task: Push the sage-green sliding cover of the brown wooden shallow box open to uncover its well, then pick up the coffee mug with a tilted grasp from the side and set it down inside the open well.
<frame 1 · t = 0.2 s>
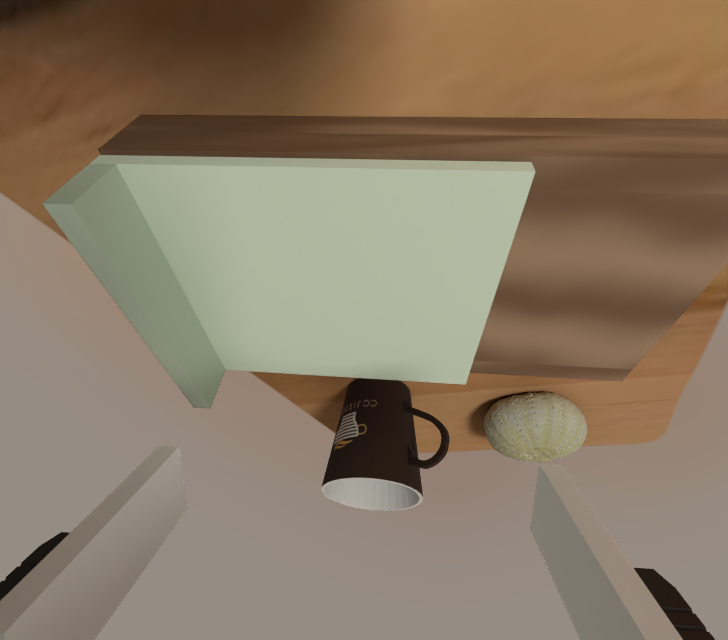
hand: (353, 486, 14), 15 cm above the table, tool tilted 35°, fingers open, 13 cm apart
sea urchin shell: (529, 406, 39), on the table
brown wooden shallow box: (417, 248, 25), on the table
coffee mug: (393, 389, 38), on the table
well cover: (319, 316, 21), point 6 cm above the table, slide at 0.0 cm
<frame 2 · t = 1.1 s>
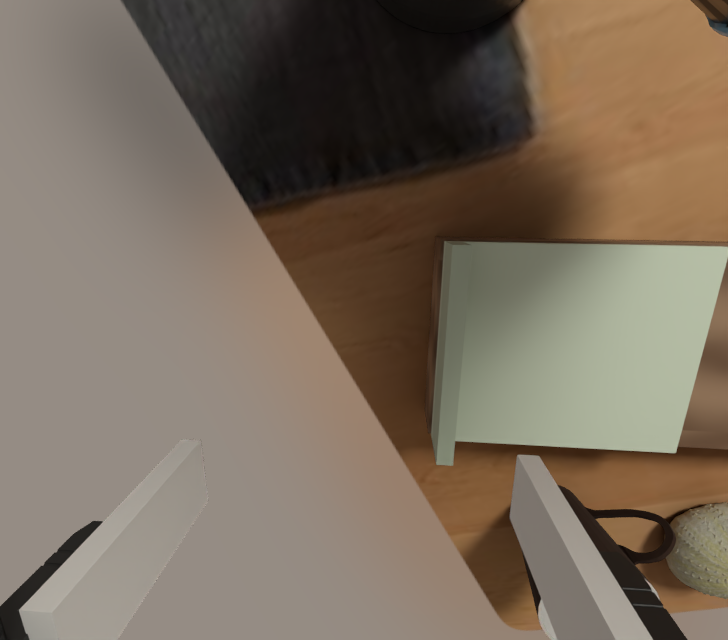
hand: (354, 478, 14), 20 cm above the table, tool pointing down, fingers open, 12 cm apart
sea urchin shell: (703, 531, 37), on the table
brown wooden shallow box: (605, 334, 33), on the table
coffee mug: (560, 506, 38), on the table
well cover: (574, 358, 27), point 6 cm above the table, slide at 0.0 cm
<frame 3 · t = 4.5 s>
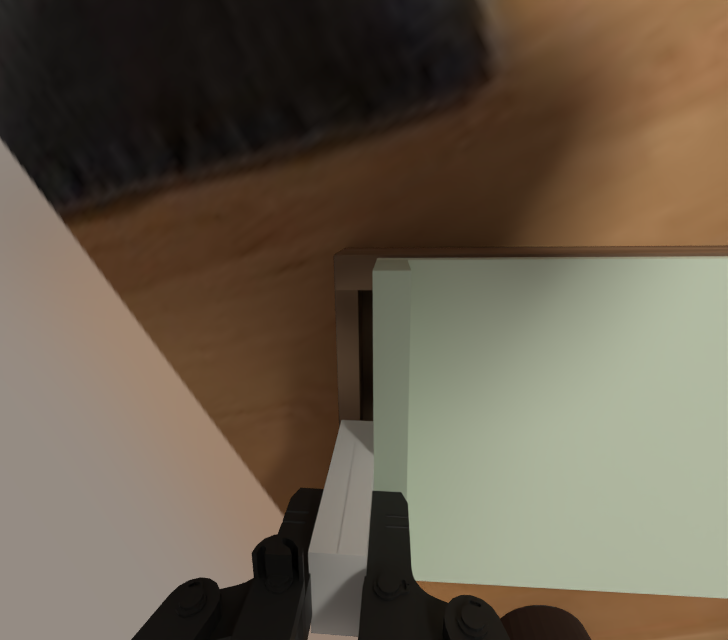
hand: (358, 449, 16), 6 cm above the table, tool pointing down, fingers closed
brown wooden shallow box: (619, 393, 21), on the table
coffee mug: (559, 634, 26), on the table
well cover: (612, 462, 15), point 6 cm above the table, slide at 1.7 cm, touching gripper
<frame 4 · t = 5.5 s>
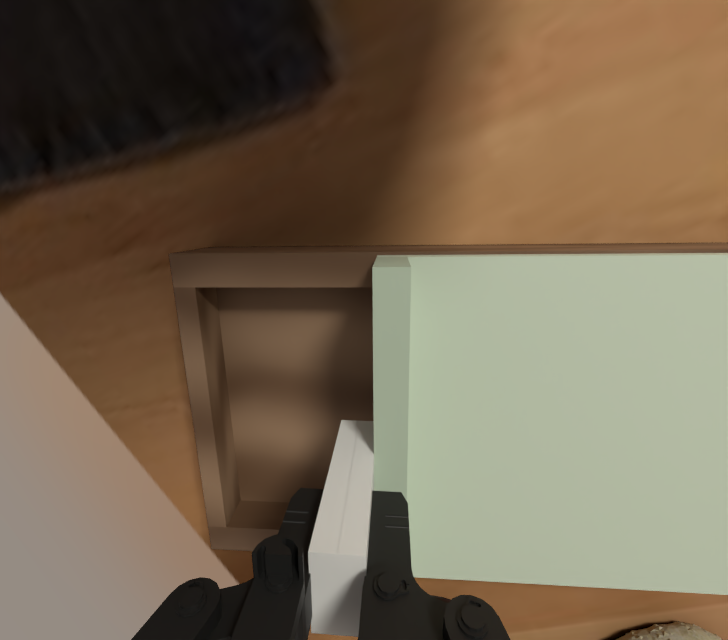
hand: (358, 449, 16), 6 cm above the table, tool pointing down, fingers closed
brown wooden shallow box: (484, 388, 21), on the table
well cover: (612, 458, 15), point 6 cm above the table, slide at 9.0 cm, touching gripper
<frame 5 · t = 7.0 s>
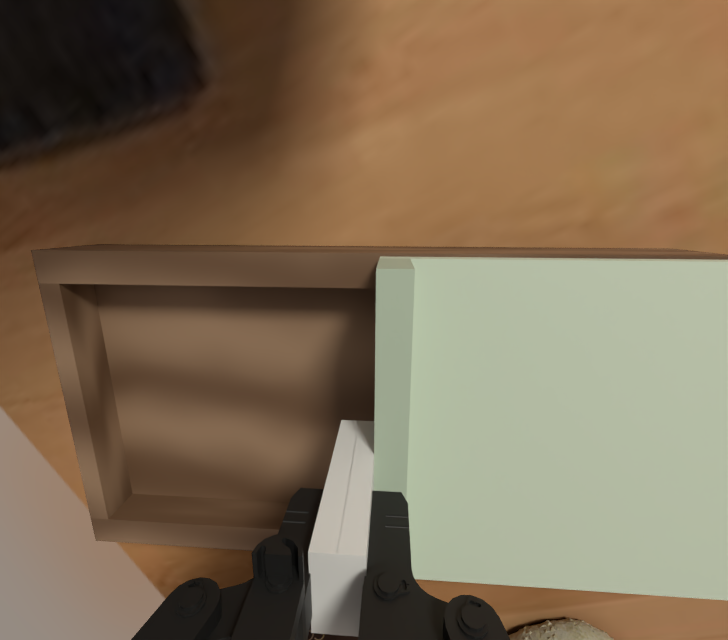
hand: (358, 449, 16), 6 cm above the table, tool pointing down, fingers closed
brown wooden shallow box: (369, 387, 22), on the table
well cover: (611, 463, 15), point 6 cm above the table, slide at 15.5 cm, touching gripper
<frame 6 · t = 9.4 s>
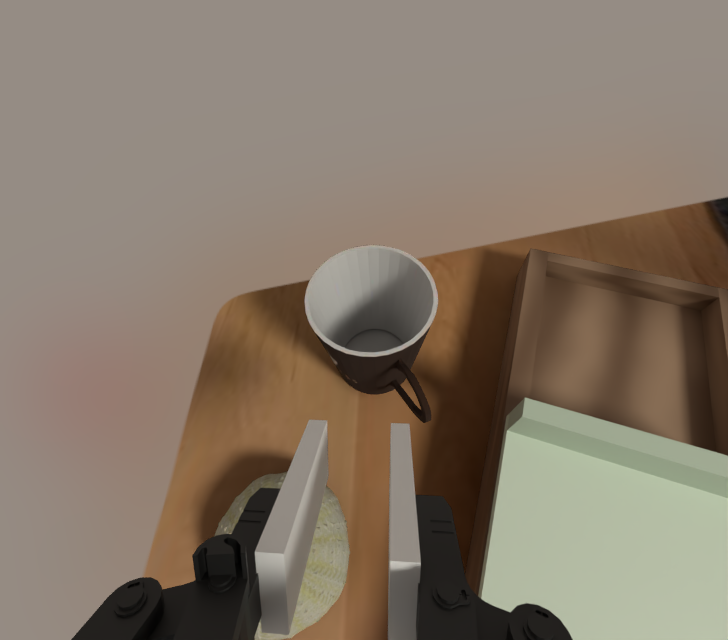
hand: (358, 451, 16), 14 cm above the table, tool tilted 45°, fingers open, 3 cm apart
sea urchin shell: (287, 548, 27), on the table
brown wooden shallow box: (600, 455, 28), on the table
coffee mug: (375, 376, 33), on the table
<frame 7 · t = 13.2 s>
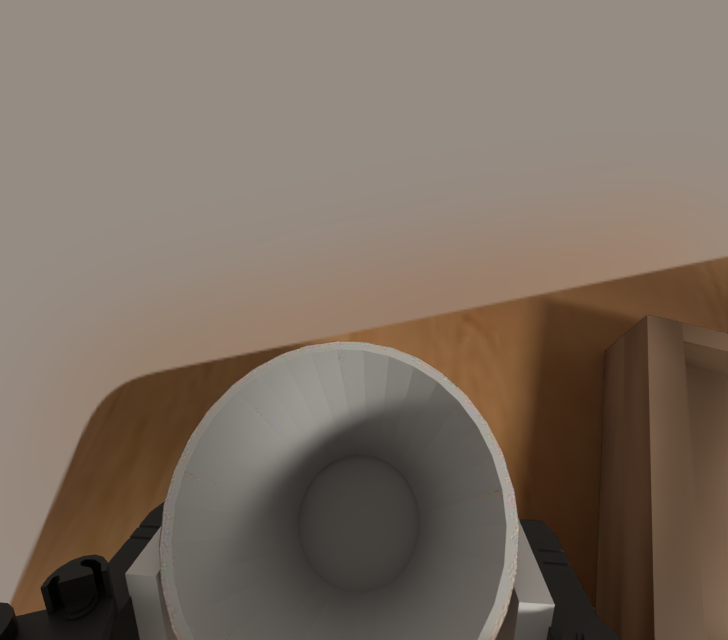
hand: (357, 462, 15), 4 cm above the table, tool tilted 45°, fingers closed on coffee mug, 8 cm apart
coffee mug: (358, 555, 17), on the table, touching gripper
when the fingers open (8 cm above the table, at t = 18.2 s): coffee mug drops 1 cm, resting on brown wooden shallow box.
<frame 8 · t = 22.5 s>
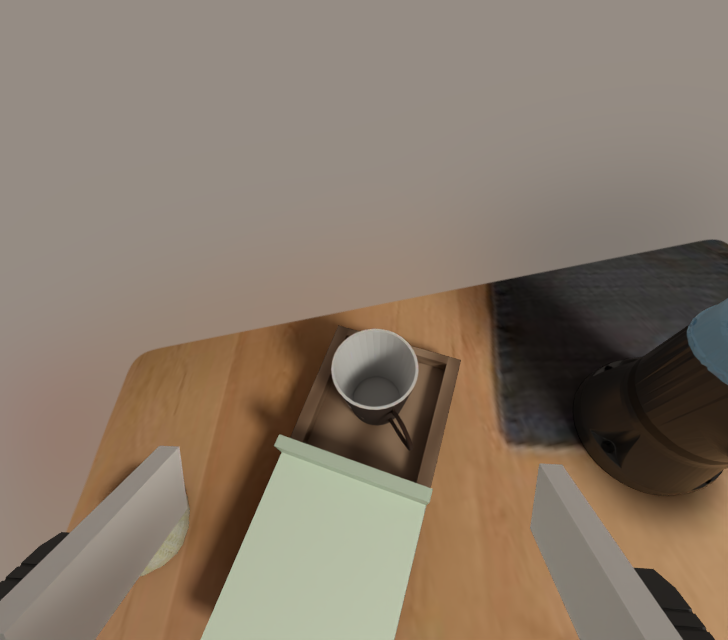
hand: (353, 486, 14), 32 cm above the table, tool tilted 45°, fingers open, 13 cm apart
sea urchin shell: (155, 526, 42), on the table
brown wooden shallow box: (359, 467, 44), on the table
coffee mug: (376, 412, 45), point 2 cm above the table, touching brown wooden shallow box
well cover: (318, 568, 34), point 6 cm above the table, slide at 15.5 cm
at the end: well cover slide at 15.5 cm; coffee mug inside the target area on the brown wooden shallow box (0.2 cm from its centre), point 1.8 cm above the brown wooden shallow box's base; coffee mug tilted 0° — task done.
